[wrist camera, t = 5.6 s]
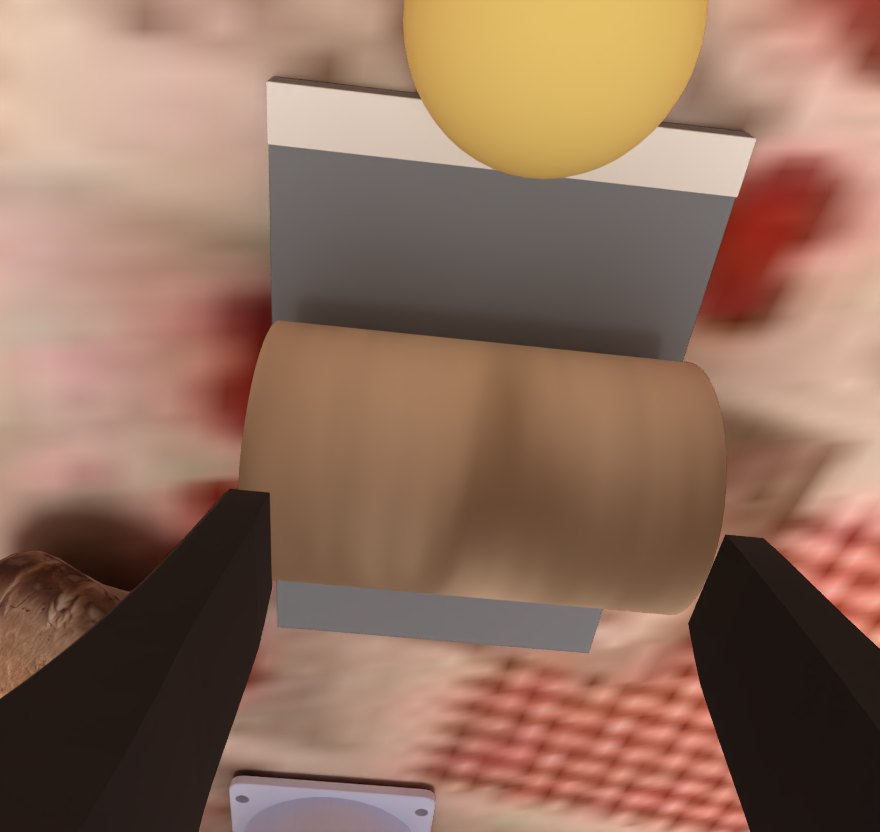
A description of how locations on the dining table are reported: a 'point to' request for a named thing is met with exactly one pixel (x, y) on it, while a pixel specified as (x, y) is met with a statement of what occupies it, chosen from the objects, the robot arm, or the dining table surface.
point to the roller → (485, 468)
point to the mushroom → (44, 612)
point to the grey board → (481, 280)
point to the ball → (551, 76)
